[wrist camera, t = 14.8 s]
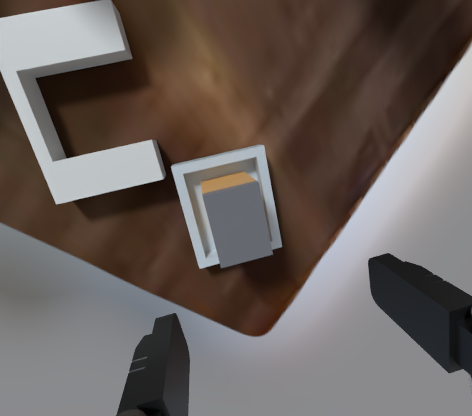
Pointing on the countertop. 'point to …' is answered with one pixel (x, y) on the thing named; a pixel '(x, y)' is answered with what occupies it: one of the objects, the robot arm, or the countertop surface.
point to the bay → (64, 60)
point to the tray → (212, 167)
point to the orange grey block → (236, 218)
